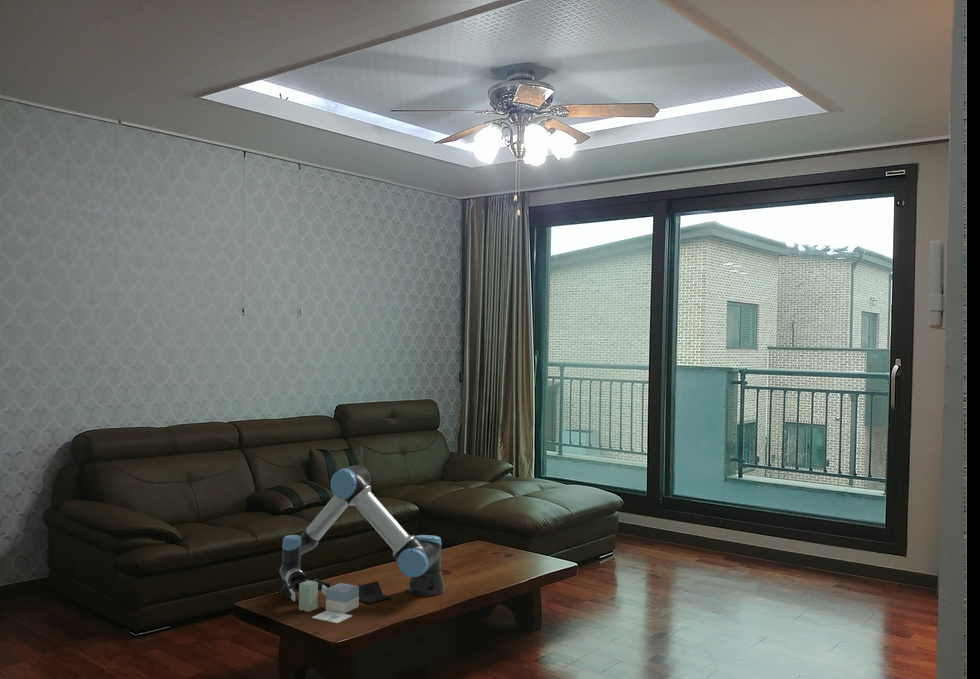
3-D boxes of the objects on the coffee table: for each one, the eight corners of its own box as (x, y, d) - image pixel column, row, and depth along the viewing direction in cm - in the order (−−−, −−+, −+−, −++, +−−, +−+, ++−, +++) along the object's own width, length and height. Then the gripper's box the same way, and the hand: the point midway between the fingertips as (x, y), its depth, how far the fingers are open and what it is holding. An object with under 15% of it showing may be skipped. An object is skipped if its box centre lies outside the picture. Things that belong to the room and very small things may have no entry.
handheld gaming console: (373, 602, 307) (364, 578, 311) (361, 610, 309) (353, 587, 314) (393, 599, 316) (384, 576, 320) (381, 607, 318) (373, 584, 323)
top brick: (317, 608, 303) (317, 582, 303) (309, 611, 298) (309, 585, 299) (307, 606, 305) (307, 580, 305) (298, 609, 301) (299, 583, 301)
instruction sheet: (352, 616, 294) (352, 615, 294) (337, 623, 286) (337, 622, 286) (327, 611, 300) (327, 609, 300) (311, 617, 292) (311, 616, 292)
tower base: (358, 606, 305) (358, 586, 305) (344, 613, 297) (344, 592, 297) (340, 603, 309) (340, 582, 309) (325, 609, 301) (326, 588, 301)
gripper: (325, 585, 324) (341, 600, 305) (266, 592, 313) (278, 609, 294) (326, 567, 324) (342, 581, 305) (266, 574, 313) (279, 589, 294)
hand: (311, 595), depth 300 cm, fingers open, 12 cm apart
